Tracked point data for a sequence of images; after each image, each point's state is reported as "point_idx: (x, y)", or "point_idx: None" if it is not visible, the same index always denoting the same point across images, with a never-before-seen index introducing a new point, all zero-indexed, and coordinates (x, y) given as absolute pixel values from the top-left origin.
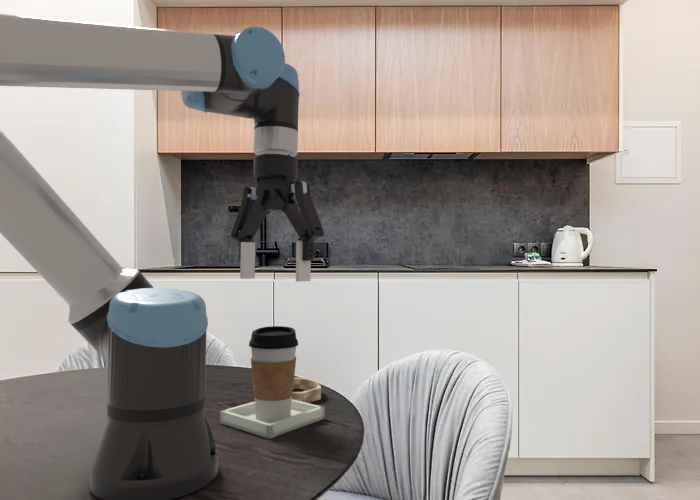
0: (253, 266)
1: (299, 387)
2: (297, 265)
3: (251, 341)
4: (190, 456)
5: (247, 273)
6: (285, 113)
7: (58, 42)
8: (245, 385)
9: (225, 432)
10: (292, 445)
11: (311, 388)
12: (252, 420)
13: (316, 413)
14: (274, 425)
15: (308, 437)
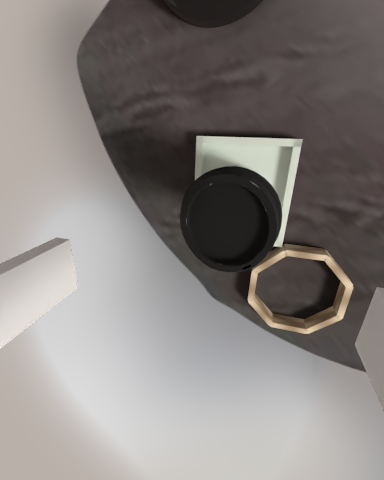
0: (380, 389)
1: (304, 320)
2: (13, 262)
3: (253, 175)
4: None
5: (378, 327)
6: None
7: None
8: None
9: (264, 116)
10: (167, 138)
11: (280, 317)
12: (229, 138)
13: None
14: (196, 144)
15: (170, 169)
